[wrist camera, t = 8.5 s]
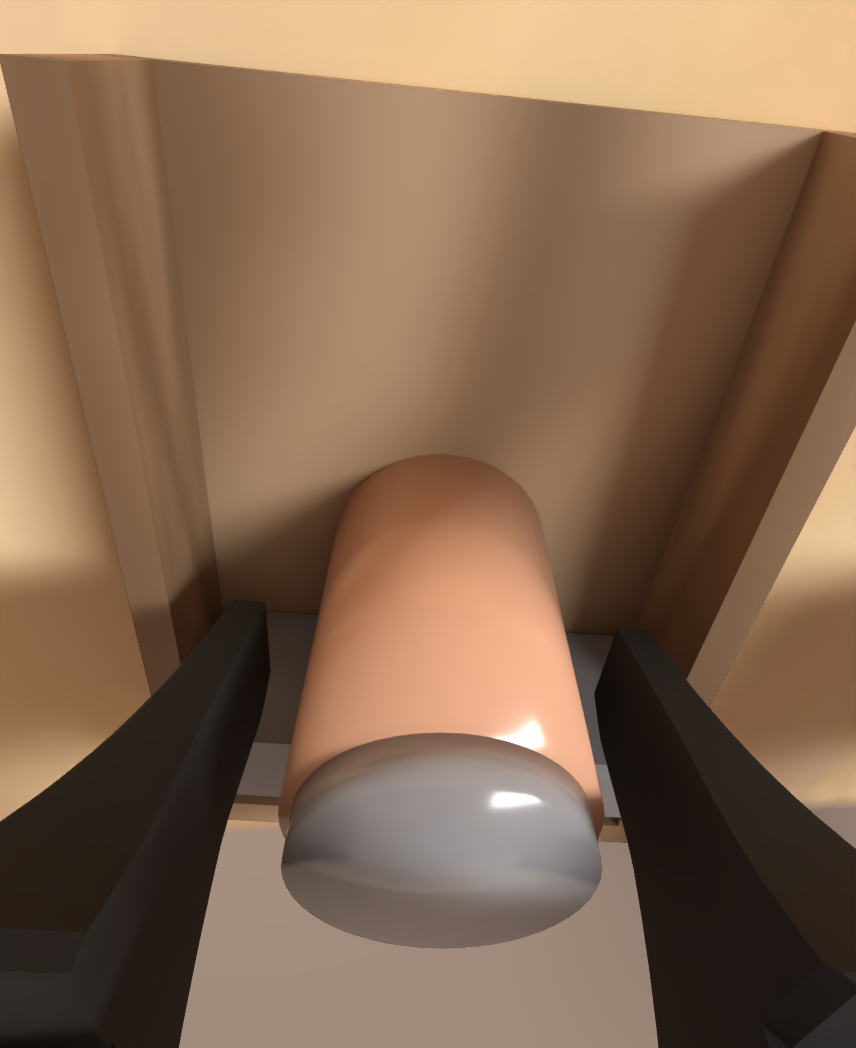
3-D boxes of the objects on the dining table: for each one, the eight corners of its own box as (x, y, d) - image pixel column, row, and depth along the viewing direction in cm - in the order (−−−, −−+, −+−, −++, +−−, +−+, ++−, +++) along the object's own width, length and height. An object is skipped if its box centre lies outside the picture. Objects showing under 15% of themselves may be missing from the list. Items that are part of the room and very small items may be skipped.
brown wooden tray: (855, 133, 11) (993, 159, 8) (611, 737, 21) (638, 843, 18) (113, 54, 11) (-2, 54, 8) (215, 711, 21) (180, 816, 18)
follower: (618, 636, 18) (676, 820, 13) (601, 686, 19) (648, 869, 15) (236, 609, 17) (170, 789, 13) (242, 661, 18) (183, 843, 14)
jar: (564, 467, 15) (665, 793, 8) (518, 627, 18) (567, 962, 11) (341, 441, 14) (263, 761, 8) (332, 608, 17) (269, 942, 11)
